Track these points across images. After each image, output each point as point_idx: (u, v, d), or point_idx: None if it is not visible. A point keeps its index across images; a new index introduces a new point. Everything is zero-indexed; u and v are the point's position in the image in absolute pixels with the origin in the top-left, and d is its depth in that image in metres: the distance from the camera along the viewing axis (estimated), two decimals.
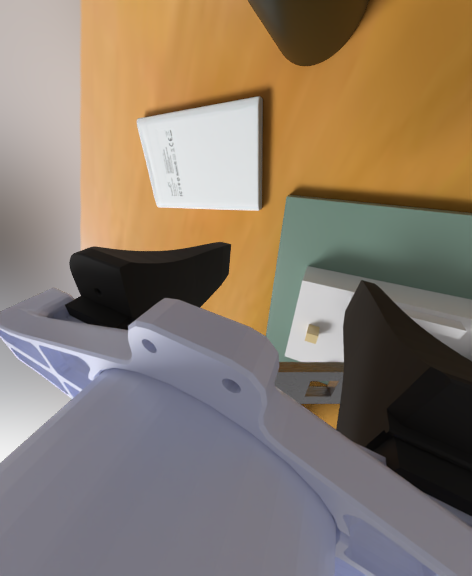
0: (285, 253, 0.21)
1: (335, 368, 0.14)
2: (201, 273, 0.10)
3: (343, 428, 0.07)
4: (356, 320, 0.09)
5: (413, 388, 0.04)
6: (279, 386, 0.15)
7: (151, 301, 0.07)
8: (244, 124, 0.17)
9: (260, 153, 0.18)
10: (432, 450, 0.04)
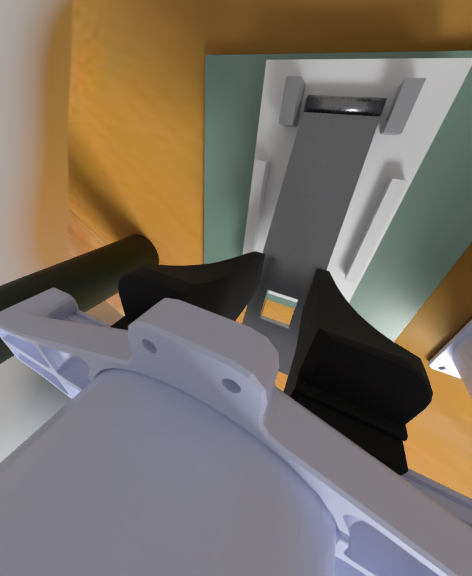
0: None
1: None
2: (240, 286, 0.10)
3: None
4: (307, 304, 0.10)
5: (311, 350, 0.05)
6: None
7: None
8: None
9: None
10: (328, 404, 0.05)
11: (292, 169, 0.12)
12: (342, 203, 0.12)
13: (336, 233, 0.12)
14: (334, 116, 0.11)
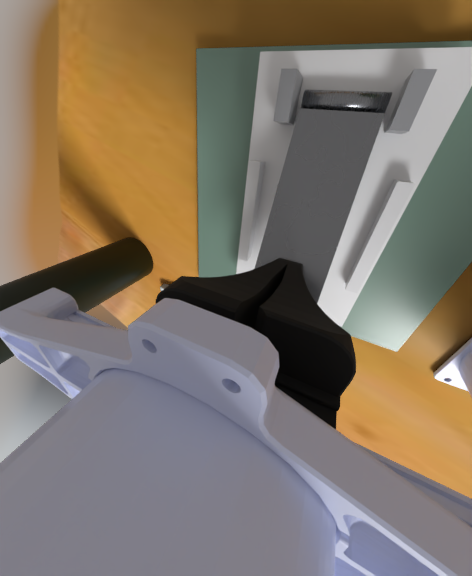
0: None
1: None
2: (270, 296, 0.09)
3: None
4: None
5: (256, 329, 0.05)
6: None
7: None
8: None
9: None
10: None
11: (288, 171, 0.11)
12: (343, 207, 0.11)
13: (336, 241, 0.11)
14: (334, 113, 0.10)
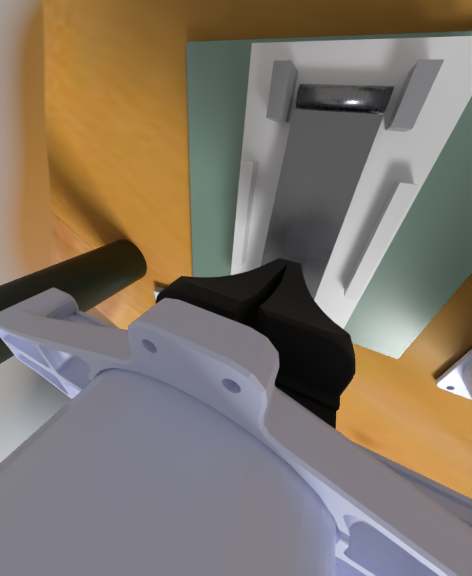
0: None
1: None
2: (269, 296, 0.09)
3: None
4: None
5: (256, 328, 0.05)
6: None
7: None
8: None
9: None
10: None
11: (285, 179, 0.12)
12: (338, 216, 0.11)
13: (331, 246, 0.12)
14: (330, 114, 0.10)
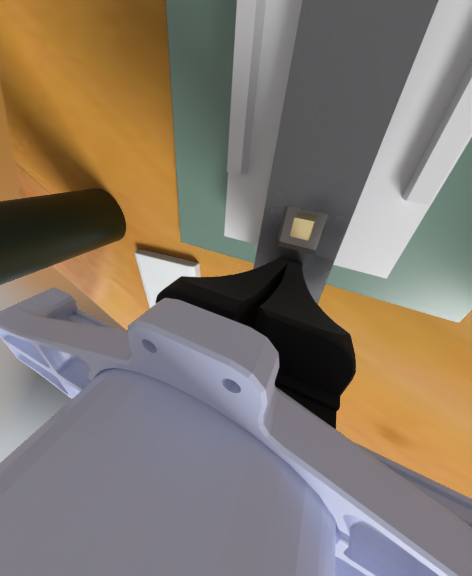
0: (229, 248, 0.18)
1: None
2: (270, 295, 0.09)
3: None
4: None
5: (255, 328, 0.05)
6: None
7: None
8: (145, 264, 0.24)
9: (161, 256, 0.23)
10: None
11: None
12: (420, 11, 0.06)
13: (399, 86, 0.07)
14: None
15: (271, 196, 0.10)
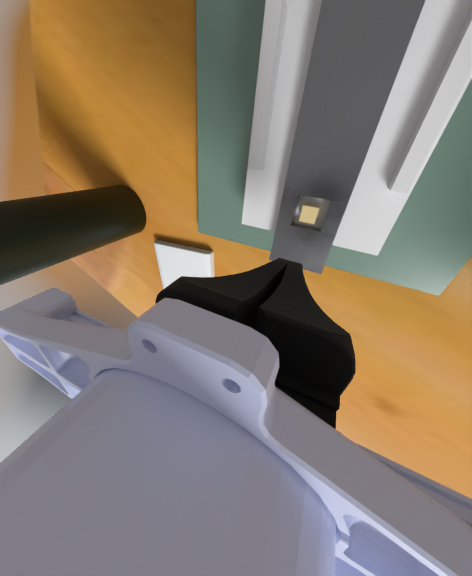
0: (242, 236, 0.21)
1: None
2: (270, 296, 0.09)
3: None
4: None
5: (255, 328, 0.05)
6: (292, 254, 0.16)
7: None
8: (164, 253, 0.26)
9: (178, 246, 0.26)
10: None
11: (326, 16, 0.09)
12: (394, 58, 0.09)
13: (380, 108, 0.10)
14: None
15: (287, 187, 0.13)
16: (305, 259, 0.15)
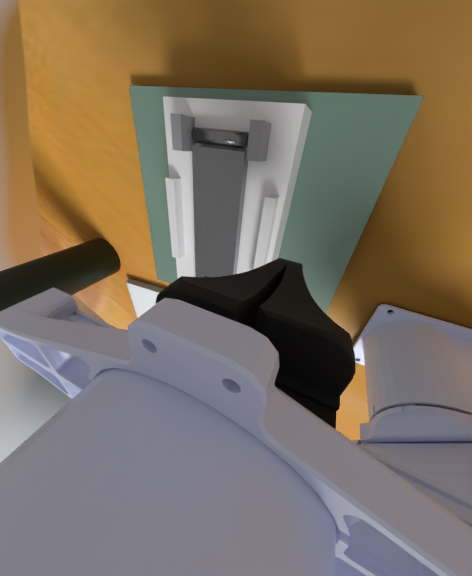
0: None
1: None
2: (270, 296, 0.09)
3: None
4: None
5: (255, 328, 0.05)
6: None
7: None
8: (134, 290, 0.33)
9: (145, 285, 0.32)
10: None
11: (197, 193, 0.16)
12: (234, 219, 0.16)
13: (234, 240, 0.17)
14: (214, 150, 0.14)
15: (197, 270, 0.20)
16: None
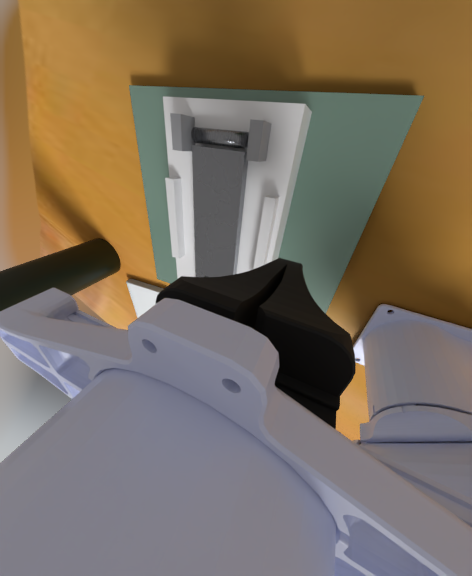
0: None
1: None
2: (270, 296, 0.09)
3: None
4: None
5: (255, 328, 0.05)
6: None
7: None
8: (134, 290, 0.33)
9: (145, 285, 0.32)
10: None
11: (197, 193, 0.16)
12: (234, 219, 0.16)
13: (234, 240, 0.17)
14: (214, 150, 0.14)
15: (197, 270, 0.20)
16: None
